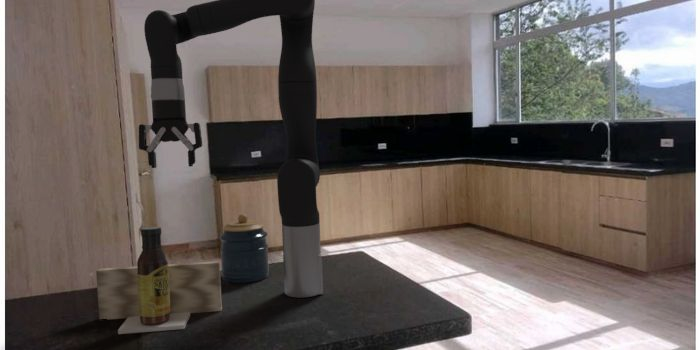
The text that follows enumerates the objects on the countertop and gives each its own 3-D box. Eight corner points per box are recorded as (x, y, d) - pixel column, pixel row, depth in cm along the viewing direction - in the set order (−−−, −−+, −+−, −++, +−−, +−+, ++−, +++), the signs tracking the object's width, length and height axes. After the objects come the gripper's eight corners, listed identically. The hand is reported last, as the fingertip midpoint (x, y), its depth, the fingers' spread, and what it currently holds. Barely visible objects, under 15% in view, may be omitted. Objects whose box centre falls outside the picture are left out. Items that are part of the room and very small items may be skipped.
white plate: (190, 315, 118) (190, 312, 118) (184, 328, 110) (184, 325, 110) (128, 320, 117) (128, 316, 116) (118, 334, 109) (117, 330, 109)
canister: (264, 283, 142) (261, 217, 140) (215, 284, 142) (212, 218, 141) (273, 270, 155) (270, 209, 153) (228, 271, 155) (225, 210, 154)
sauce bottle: (160, 327, 110) (154, 231, 108) (133, 325, 111) (126, 230, 109) (177, 315, 116) (171, 225, 114) (150, 314, 117) (145, 225, 116)
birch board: (221, 308, 122) (219, 261, 122) (221, 310, 121) (218, 262, 120) (102, 317, 119) (98, 268, 118) (99, 320, 117) (96, 270, 116)
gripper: (201, 99, 132) (204, 165, 133) (140, 100, 130) (145, 167, 132) (196, 97, 125) (200, 167, 126) (132, 98, 123) (137, 169, 124)
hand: (172, 167), depth 129 cm, fingers open, 8 cm apart
